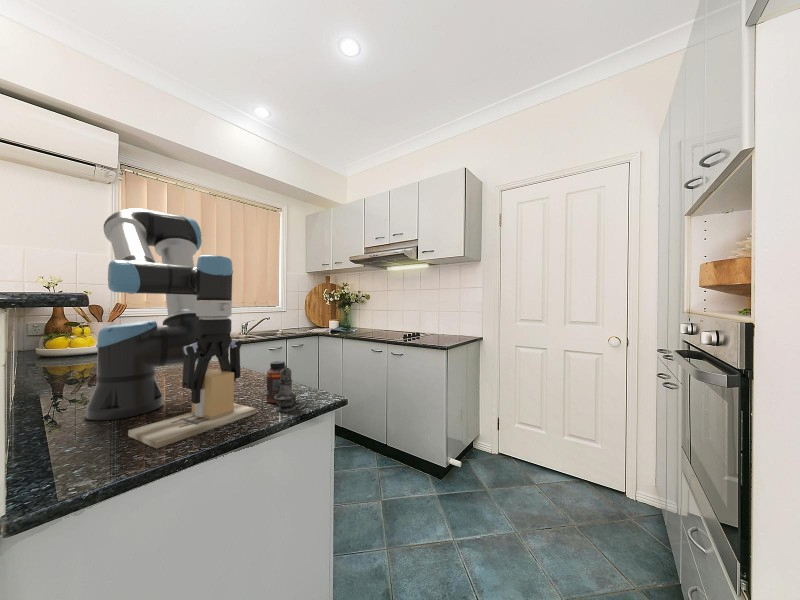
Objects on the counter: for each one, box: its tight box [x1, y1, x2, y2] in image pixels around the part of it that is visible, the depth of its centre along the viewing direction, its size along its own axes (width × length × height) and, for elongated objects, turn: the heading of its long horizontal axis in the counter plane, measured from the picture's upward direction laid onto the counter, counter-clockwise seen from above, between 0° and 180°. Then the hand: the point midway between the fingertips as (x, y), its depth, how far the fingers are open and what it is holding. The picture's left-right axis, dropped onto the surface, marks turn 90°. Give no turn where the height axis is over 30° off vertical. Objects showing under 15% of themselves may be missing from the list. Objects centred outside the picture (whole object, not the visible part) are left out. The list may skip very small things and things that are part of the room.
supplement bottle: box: [265, 360, 286, 404], centre depth 89 cm, size 6×6×11 cm
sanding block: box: [191, 369, 235, 420], centre depth 75 cm, size 8×6×10 cm
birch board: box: [127, 402, 257, 449], centre depth 72 cm, size 12×22×1 cm, turn 152°
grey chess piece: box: [274, 364, 298, 413], centre depth 82 cm, size 6×6×12 cm
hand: (212, 411), depth 75 cm, fingers closed on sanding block, 5 cm apart
